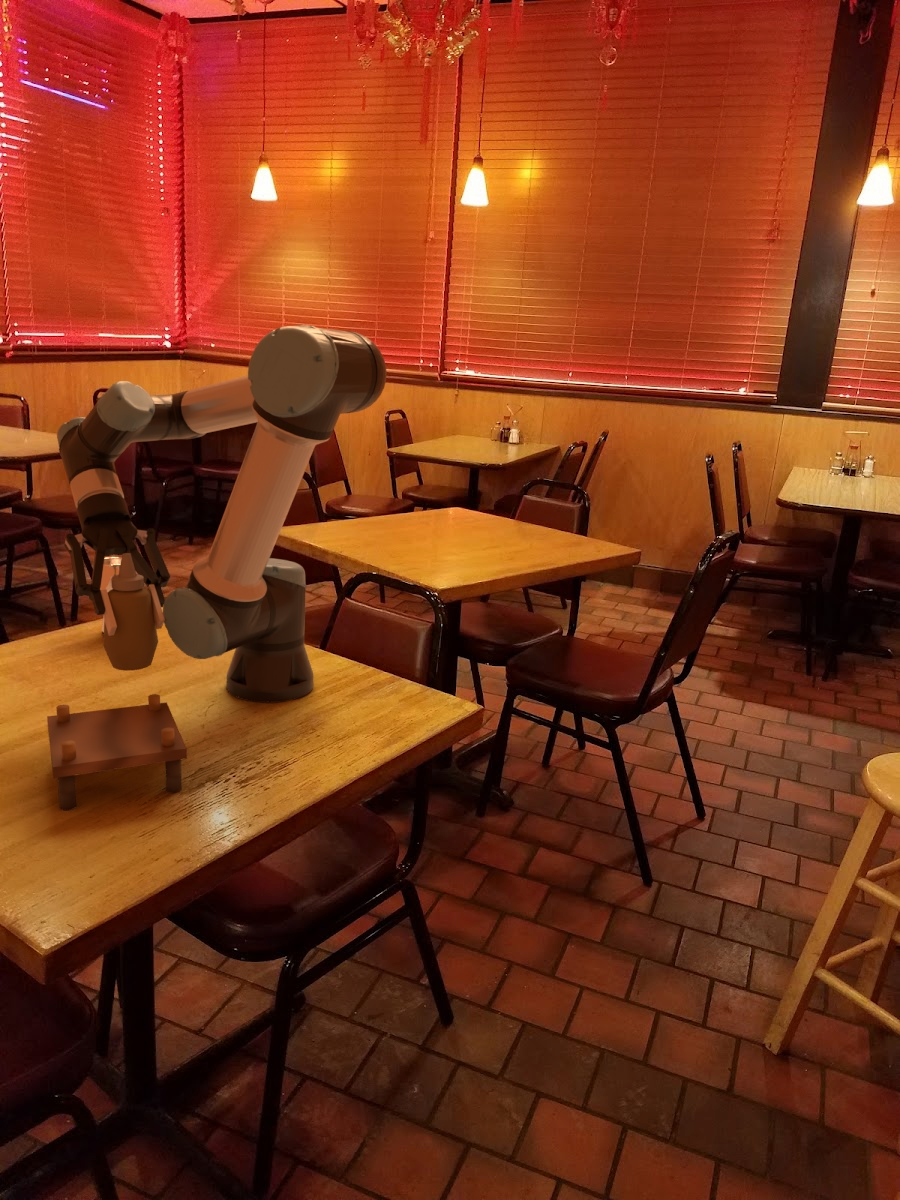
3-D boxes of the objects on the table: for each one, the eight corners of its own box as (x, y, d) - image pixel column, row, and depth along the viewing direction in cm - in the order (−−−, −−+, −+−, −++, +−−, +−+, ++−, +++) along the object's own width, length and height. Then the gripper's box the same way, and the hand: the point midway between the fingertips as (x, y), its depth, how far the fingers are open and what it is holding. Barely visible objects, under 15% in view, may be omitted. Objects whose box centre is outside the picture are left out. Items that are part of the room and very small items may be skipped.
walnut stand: (167, 742, 126) (166, 689, 123) (187, 792, 112) (186, 734, 110) (50, 758, 118) (46, 703, 116) (55, 814, 105) (51, 752, 103)
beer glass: (114, 639, 167) (110, 566, 163) (92, 632, 170) (88, 560, 166) (143, 631, 173) (140, 561, 168) (121, 624, 176) (118, 555, 172)
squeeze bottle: (130, 653, 137) (124, 546, 132) (170, 662, 134) (166, 552, 129) (92, 668, 130) (85, 555, 125) (133, 678, 127) (127, 562, 122)
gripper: (156, 514, 144) (193, 630, 136) (33, 521, 132) (65, 649, 124) (165, 487, 138) (205, 607, 130) (37, 493, 127) (72, 624, 119)
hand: (137, 627), depth 127 cm, fingers closed on squeeze bottle, 6 cm apart
